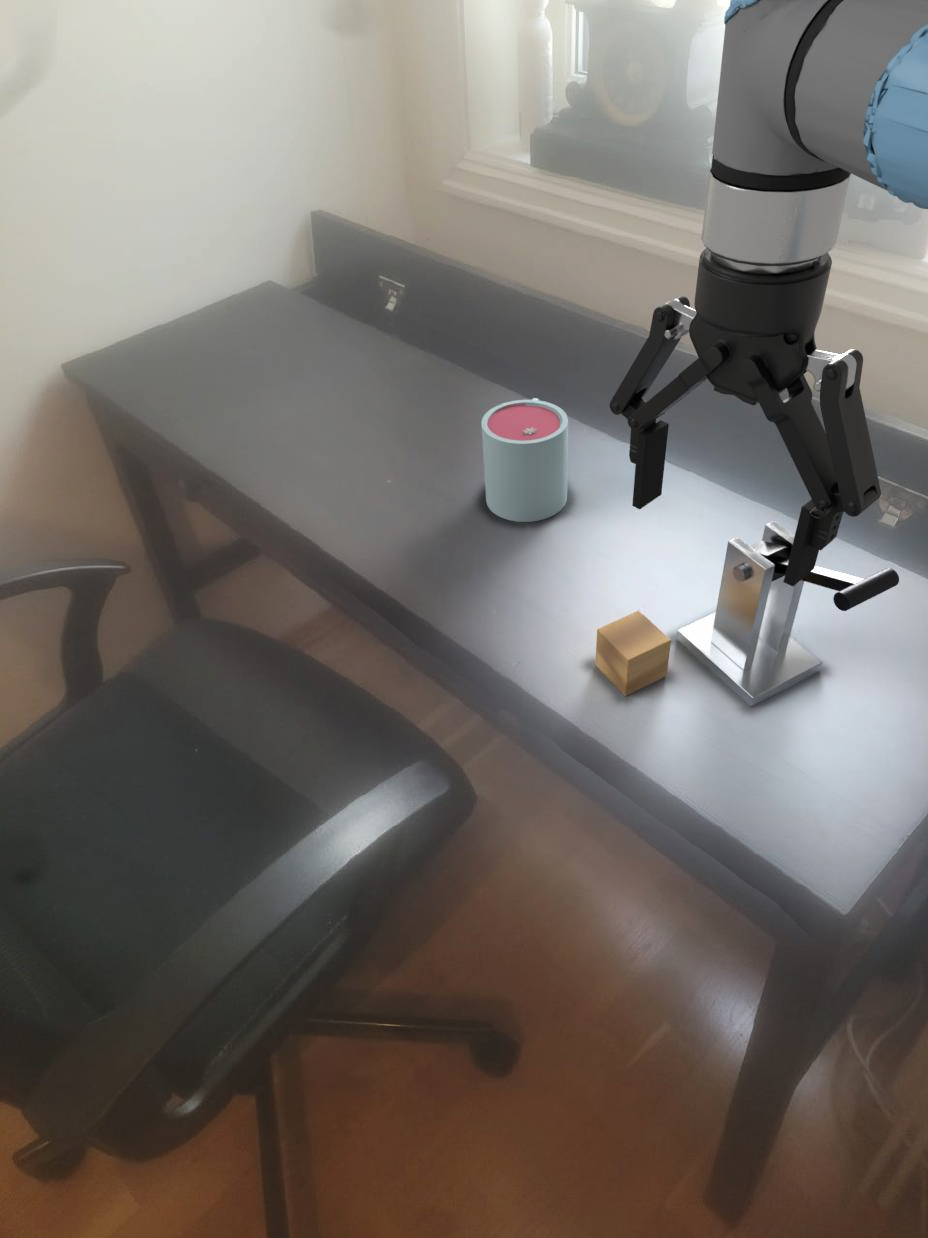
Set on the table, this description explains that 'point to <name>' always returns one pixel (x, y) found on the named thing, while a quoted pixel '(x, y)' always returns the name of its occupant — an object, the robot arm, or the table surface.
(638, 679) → the block
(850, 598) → the lever
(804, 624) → the table surface
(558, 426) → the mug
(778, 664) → the bracket
